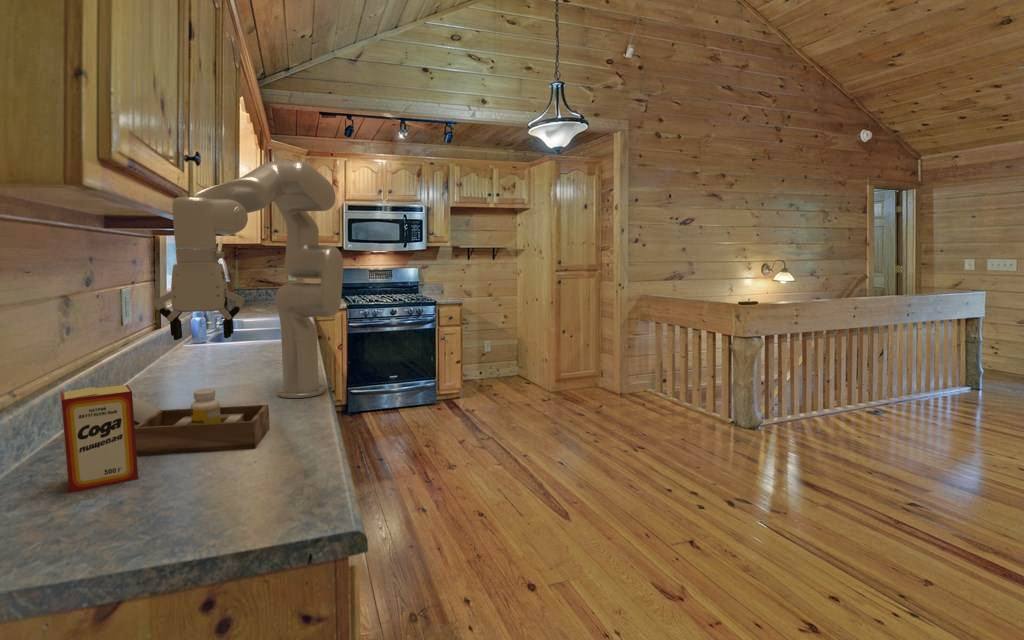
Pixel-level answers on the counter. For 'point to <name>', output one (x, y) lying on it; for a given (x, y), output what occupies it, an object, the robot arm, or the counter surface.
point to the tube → (143, 409)
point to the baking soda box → (99, 436)
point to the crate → (201, 431)
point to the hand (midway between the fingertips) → (203, 338)
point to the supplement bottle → (205, 407)
